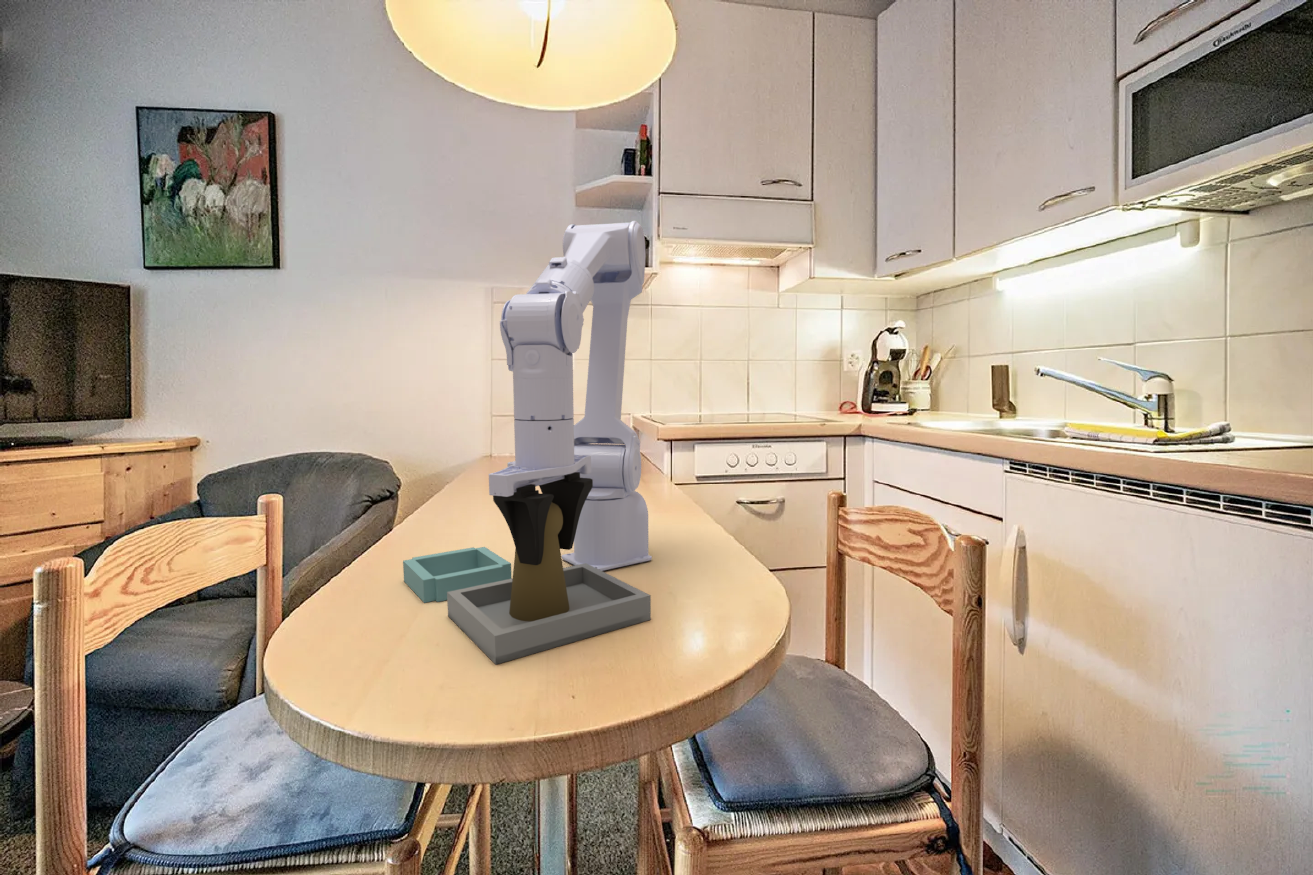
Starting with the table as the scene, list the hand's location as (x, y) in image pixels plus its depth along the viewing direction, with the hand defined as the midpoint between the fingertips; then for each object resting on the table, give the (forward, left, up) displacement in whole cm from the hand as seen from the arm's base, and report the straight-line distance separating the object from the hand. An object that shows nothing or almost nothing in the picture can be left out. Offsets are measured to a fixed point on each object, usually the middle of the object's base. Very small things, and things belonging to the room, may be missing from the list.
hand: (547, 555), depth 60 cm
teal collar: (+4, -16, -6) cm, 18 cm away
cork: (0, -1, -6) cm, 6 cm away
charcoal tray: (0, 0, -6) cm, 6 cm away
